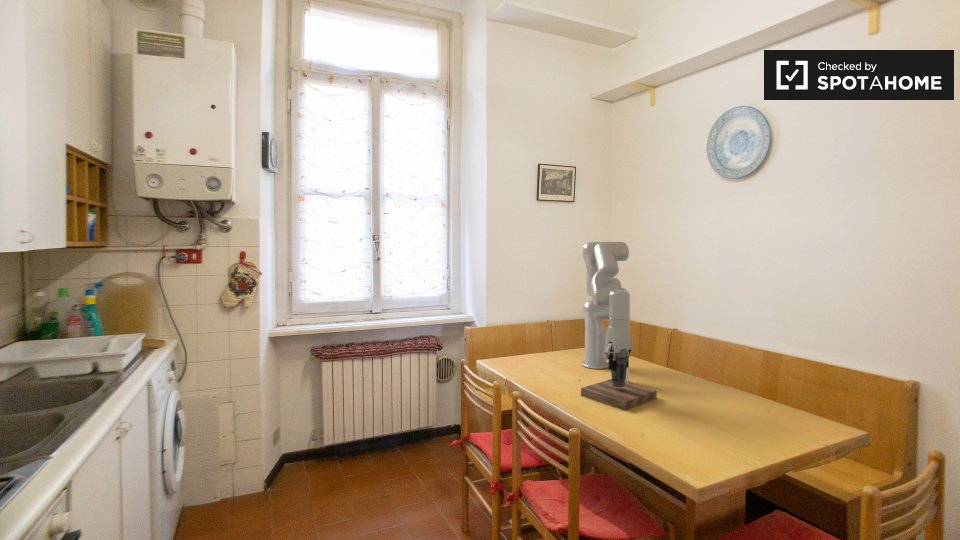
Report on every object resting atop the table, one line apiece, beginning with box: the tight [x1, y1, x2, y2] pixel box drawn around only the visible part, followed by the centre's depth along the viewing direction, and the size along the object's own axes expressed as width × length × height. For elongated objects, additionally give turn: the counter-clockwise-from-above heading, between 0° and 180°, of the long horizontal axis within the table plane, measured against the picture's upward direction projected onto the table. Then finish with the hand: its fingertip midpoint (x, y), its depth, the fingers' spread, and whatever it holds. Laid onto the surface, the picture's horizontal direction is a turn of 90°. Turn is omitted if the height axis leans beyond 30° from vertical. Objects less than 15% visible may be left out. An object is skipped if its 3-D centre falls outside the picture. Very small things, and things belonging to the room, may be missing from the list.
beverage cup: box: [610, 349, 630, 387], centre depth 177 cm, size 7×7×20 cm
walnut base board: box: [580, 378, 658, 411], centre depth 178 cm, size 20×20×3 cm
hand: (618, 368), depth 178 cm, fingers closed on beverage cup, 6 cm apart
